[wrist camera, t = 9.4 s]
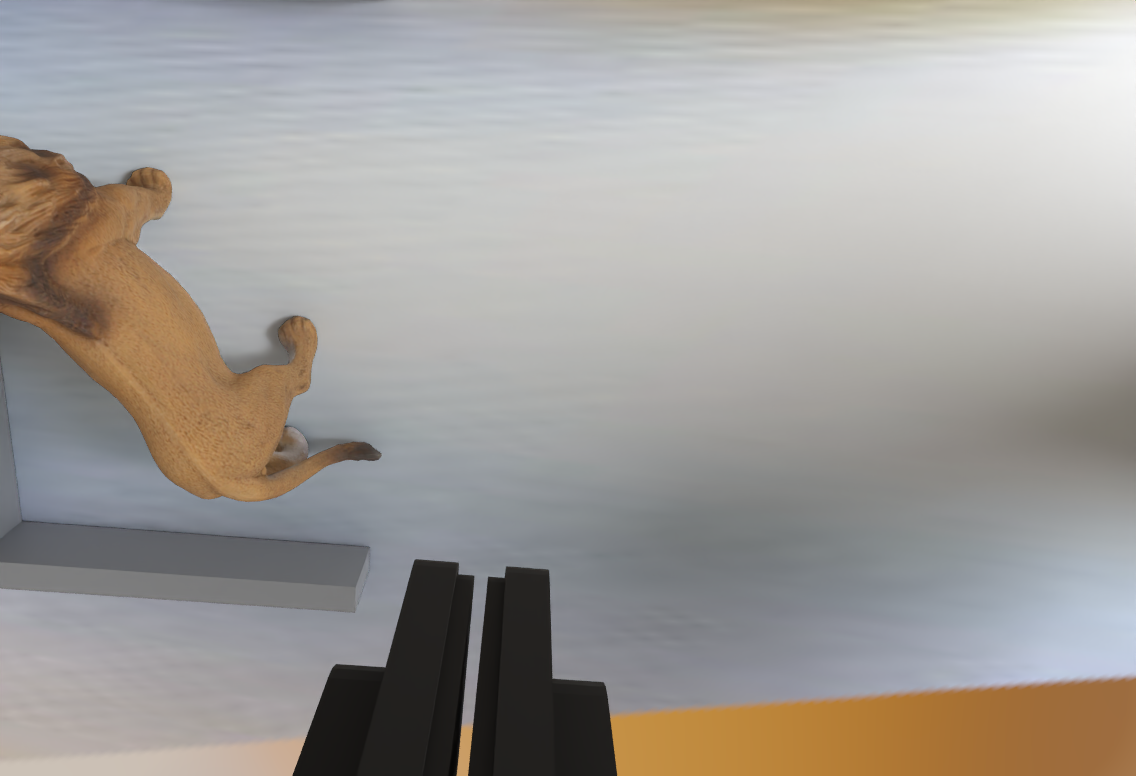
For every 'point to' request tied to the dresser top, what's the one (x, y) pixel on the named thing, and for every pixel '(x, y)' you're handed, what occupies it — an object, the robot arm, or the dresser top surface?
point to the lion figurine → (149, 331)
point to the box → (169, 559)
